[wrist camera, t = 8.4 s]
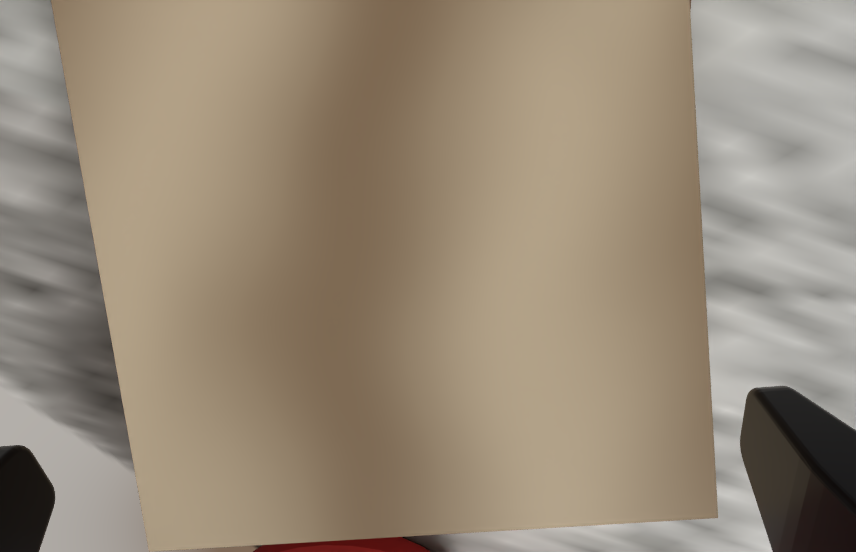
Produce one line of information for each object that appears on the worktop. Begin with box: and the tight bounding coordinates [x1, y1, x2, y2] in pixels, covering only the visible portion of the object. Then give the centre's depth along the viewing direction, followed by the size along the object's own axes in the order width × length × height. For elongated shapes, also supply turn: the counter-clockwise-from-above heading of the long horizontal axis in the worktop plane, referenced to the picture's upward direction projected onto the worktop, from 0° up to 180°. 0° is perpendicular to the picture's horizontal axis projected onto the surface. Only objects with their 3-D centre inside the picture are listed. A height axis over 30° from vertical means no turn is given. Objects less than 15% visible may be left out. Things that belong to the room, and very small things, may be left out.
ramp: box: [51, 0, 718, 552], centre depth 12 cm, size 10×11×6 cm
